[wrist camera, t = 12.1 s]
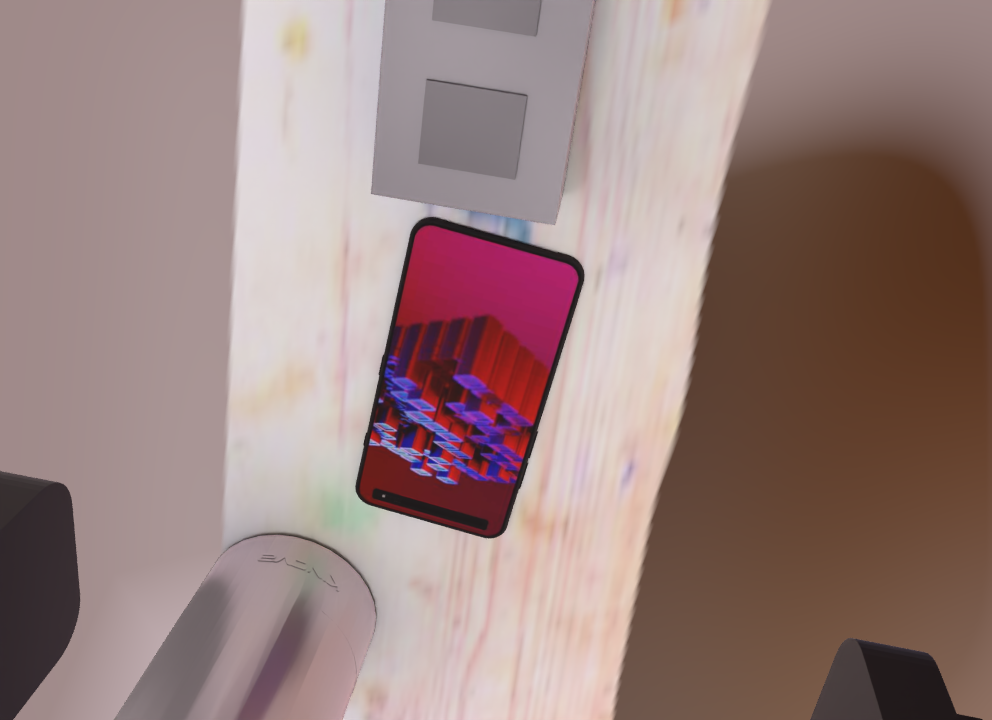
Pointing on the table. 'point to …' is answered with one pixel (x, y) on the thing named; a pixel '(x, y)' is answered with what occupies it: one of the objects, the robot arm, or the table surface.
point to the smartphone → (465, 375)
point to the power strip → (480, 103)
